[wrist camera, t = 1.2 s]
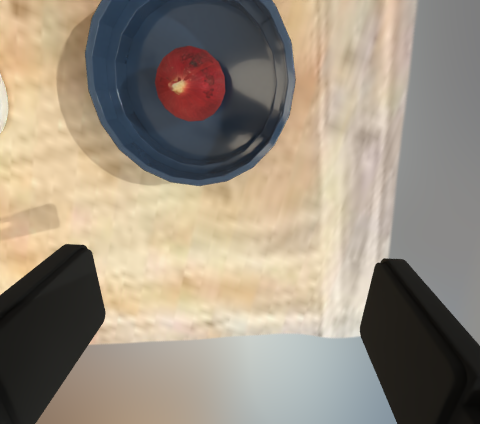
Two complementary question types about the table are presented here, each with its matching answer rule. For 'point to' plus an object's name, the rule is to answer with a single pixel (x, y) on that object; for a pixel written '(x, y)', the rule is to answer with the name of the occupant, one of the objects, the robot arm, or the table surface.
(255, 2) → the bowl
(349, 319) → the table surface
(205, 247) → the table surface
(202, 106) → the onion
